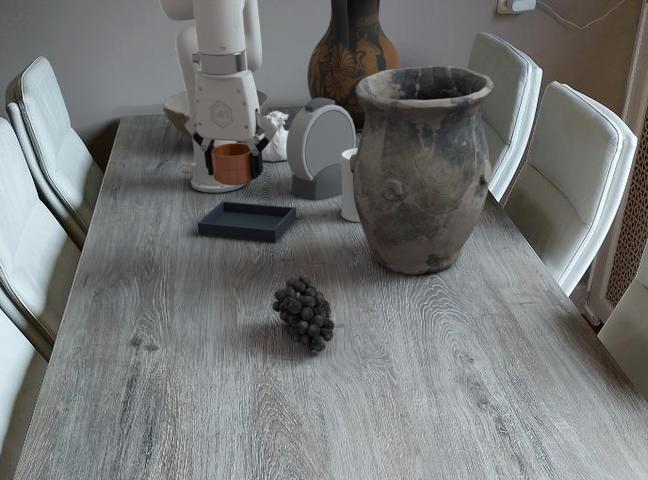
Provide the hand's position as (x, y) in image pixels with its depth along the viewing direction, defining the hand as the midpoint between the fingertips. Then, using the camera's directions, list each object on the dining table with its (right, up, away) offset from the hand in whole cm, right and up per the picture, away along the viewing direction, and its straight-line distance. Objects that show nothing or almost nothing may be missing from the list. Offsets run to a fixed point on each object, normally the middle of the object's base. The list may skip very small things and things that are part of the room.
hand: (235, 174), depth 138 cm
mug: (+25, +1, +24) cm, 35 cm away
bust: (+4, +25, +54) cm, 60 cm away
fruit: (+13, -32, -15) cm, 37 cm away
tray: (0, -2, +21) cm, 21 cm away
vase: (+23, +42, +74) cm, 88 cm away
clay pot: (+32, -13, +7) cm, 36 cm away
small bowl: (0, -1, +1) cm, 1 cm away
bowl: (-12, +34, +66) cm, 76 cm away
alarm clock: (+15, +11, +37) cm, 41 cm away
